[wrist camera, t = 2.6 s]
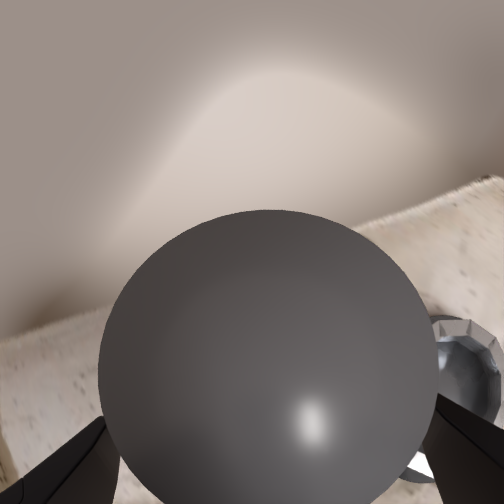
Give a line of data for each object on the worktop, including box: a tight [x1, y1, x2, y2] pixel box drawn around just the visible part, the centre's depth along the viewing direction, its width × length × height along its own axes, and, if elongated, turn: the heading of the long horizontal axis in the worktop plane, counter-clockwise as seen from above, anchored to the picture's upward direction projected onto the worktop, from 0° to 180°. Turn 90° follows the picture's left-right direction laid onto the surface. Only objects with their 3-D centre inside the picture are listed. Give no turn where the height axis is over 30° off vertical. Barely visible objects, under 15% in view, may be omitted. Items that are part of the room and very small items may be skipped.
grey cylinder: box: [98, 210, 439, 504], centre depth 10 cm, size 5×5×14 cm
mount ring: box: [399, 315, 504, 483], centre depth 14 cm, size 11×11×2 cm
